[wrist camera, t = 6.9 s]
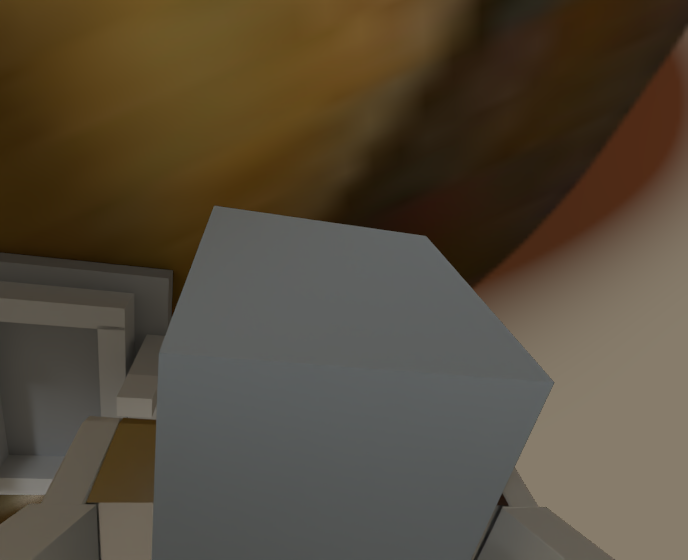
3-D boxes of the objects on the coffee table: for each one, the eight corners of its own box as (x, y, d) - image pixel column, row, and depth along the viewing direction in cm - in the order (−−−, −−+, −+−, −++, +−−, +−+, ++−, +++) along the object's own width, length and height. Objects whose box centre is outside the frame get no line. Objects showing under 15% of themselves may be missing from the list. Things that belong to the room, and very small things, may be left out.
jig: (-87, 243, 21) (-211, 303, 16) (181, 271, 23) (153, 331, 18) (-40, 468, 27) (-120, 570, 21) (173, 472, 29) (149, 565, 23)
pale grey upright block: (213, 205, 8) (157, 352, 4) (425, 235, 9) (554, 382, 5) (188, 516, 11) (143, 770, 7) (345, 517, 12) (383, 744, 8)
